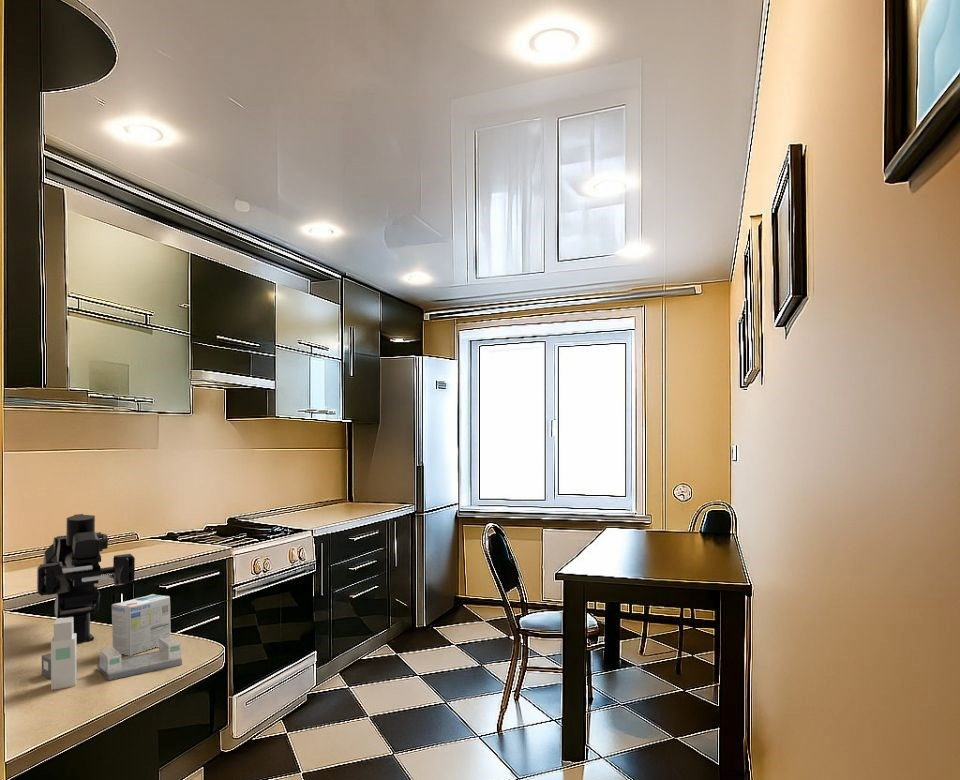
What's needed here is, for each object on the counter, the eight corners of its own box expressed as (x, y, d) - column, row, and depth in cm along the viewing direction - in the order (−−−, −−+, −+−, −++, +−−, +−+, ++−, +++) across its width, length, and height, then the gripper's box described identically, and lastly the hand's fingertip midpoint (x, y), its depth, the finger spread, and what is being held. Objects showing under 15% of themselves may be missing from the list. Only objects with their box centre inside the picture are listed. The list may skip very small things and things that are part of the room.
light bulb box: (153, 639, 174) (153, 593, 175) (172, 643, 171) (171, 595, 171) (110, 652, 165) (110, 603, 165) (129, 656, 162) (128, 606, 162)
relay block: (41, 675, 151) (41, 655, 151) (63, 669, 154) (62, 650, 154) (50, 680, 148) (50, 659, 148) (72, 674, 151) (72, 654, 151)
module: (53, 682, 146) (53, 619, 147) (76, 679, 148) (76, 616, 148) (51, 690, 142) (50, 624, 142) (75, 686, 144) (74, 621, 144)
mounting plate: (97, 668, 154) (96, 646, 154) (167, 653, 163) (167, 633, 163) (108, 680, 146) (108, 658, 146) (182, 664, 155) (181, 643, 155)
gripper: (34, 534, 162) (42, 553, 150) (127, 524, 173) (142, 542, 161) (34, 583, 163) (41, 607, 151) (126, 571, 174) (141, 592, 162)
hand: (93, 585), depth 156 cm, fingers open, 9 cm apart
